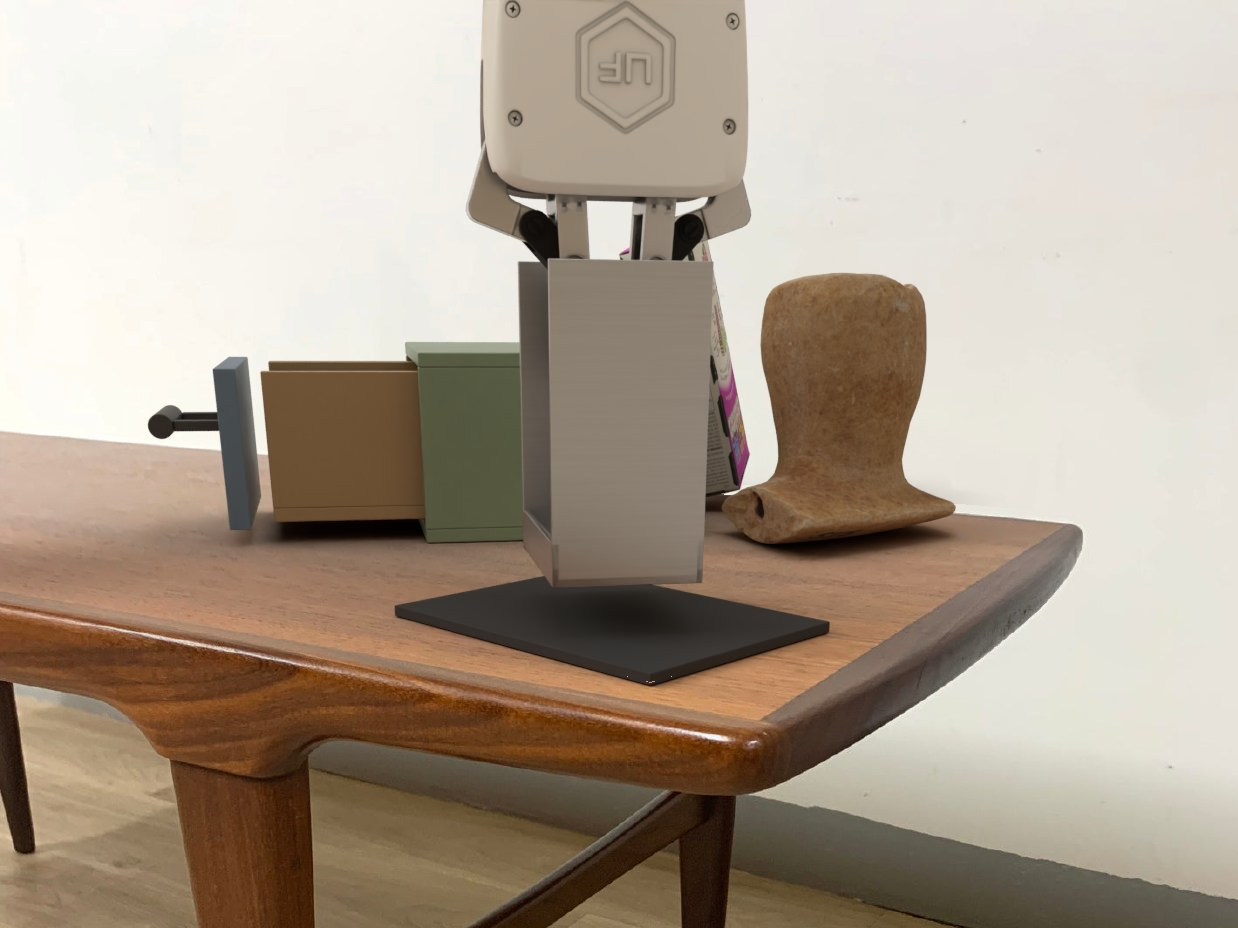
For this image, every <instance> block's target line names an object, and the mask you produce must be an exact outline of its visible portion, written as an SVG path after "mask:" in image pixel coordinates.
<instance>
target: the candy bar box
mask: <svg viewBox="0 0 1238 928" xmlns="http://www.w3.org/2000/svg"><path fill="white" fill-rule="evenodd" d="M629 248H630V246H628V248H626V249H624V250H623V251H621V252H619V253H618V256H619V260H629ZM710 250H711V249H710V246H709V240H706V241H704V242H701V243H698V244H697V245H696V246H695V248H694V249H693V250H692V251H691V252H690V253H689V254H688V255H687V256H686V257H685V258H684V259H683V261H713V260H712V255H711V251H710ZM720 301H721V300H720V297H719V293H718V287H717V281H716V276H715V270H714V269H713V293H712V322H711V351H710V380H709V409H708V438H707V467H706V496H705V499H707V498H710V497H716V496H720V495H724V494H729V493H732V492H733V493H734V492H738V491H740V490H741V488H742V484H743V480H744V476H745V472H746V468H747V466H748V462H749V458H750V455H751V453H750V449H749V446H748V441H747V434H746V430H745V424H744V420H743V414H742V409H741V405H740V399H739V394H738V389H737V385H736V378H735V374H734V368H733V363H732V358H731V353H730V348H729V347H730V346H729V342H728V337H727V331H726V327H725V323H724V322H725V321H724V318H723V317H724V316H723V312H722V311H723V310H722V307H721V302H720Z"/></svg>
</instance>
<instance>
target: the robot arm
mask: <svg viewBox="0 0 1238 928" xmlns="http://www.w3.org/2000/svg"><path fill="white" fill-rule="evenodd" d="M745 1H746V0H483V1H482V13H481V42H480V76H479V77H480V78H479V84H480V85H479V87H480V88H479V89H480V90H479V131H480V133H479V134H480V153H479V157H478V160H477V163H476V167H475V171H474V175H473V178H472V182H471V185H470V189H469V192H468V196H467V200H466V203H465V213H466V216H467V217H468V219H469V220H470V221H471V222H473V223H475V224H477V225H480V226H483V227H485V228H487V229H490V230H492V231H494V232H497V233H500V234H502V235H505V236H507V237H511V238H513V239H515V240H519V241H520V242H521V243H523V245H524V246H525V247H526V248H527V249H528V250H529V252H531V254H532V255H533V256H534V257H535V258H536V259H537V260H538V262H541V263H542V264H543V265H544V267H545V268H546V269H547V270H548V259H550V258H551V259H591V254H590V253H591V252H590V237H589V218H588V202H613V203H615V202H616V203H617V202H618V203H632V205H631V218H630V219H631V220H630V233H629V234H630V235H629V247H630V248H629V247H628V248H629V260H669V261H683V259H684V258H685V257H686V256H687V255H688V254H689V253H690V252H691V251H692V250H693V249H694V248H695V246H696V245H697V244H698V243H701V242H704V241H706V240H708V241H709V240H713V239H715V238H718V237H720V236H721V237H722V236H724V235H726V234H729V233H731V232H734V231H737V230H740V229H743V228H744V227H746V226H747V225H748V224H749V223H750V222H751V219H752V218H751V217H752V209H751V206H750V201H749V198H748V193H747V189H746V187H745V185H746V184H745V182H744V176H745V171H746V167H747V158H748V146H749V144H748V143H749V73H748V72H749V68H748V40H747V39H748V38H747V19H746V2H745ZM511 196H512V197H514V198H521V199H528V200H530V199H531V200H545V207H546V208H545V210H546V213H545V212H543V211H541V210H539V209H535V208H533V207H530V206H528V205H525V204H522V202H519V201H516V200H515V199H513V198H511ZM702 198H707V199H706V202H705V203H704V204H703V205H702V206H700V207H698V208H696V209H692V210H689V211H688V212H687V211H686V212H685V213H682V214H679V215H676V209H677V203H687V202H693V201H697V200H699V199H702Z"/></svg>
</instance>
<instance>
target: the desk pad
mask: <svg viewBox="0 0 1238 928" xmlns="http://www.w3.org/2000/svg"><path fill="white" fill-rule="evenodd" d="M394 616H396V617H399V618H402V619H406V620H410V621H412V622H413V621H414V622H417V623H421V624H425V625H428V626H431V627H436V628H439V629H442V630H446V631H450V632H453V633H457V634H461V635H465V636H468V637H471V638H475V639H479V640H483V641H486V642H490V643H493V644H498V645H501V646H504V647H508V648H512V649H516V650H520V651H522V652H526V653H530V654H534V655H537V656H541V657H543V658H547V659H548V658H549V659H552V660H556V661H560V662H563V663H566V664H569V665H570V664H571V665H574V666H578V667H582V668H585V669H588V670H593V671H596V672H599V673H602V674H603V673H604V674H607V675H610V676H614V677H618V678H621V679H625V680H629V681H632V682H637V683H640V684H644V685H647V686H654V685H656V684H660V683H663V682H667V681H670V680H673V679H676V678H680V677H683V676H687V675H690V674H693V673H697V672H700V671H703V670H707V669H710V668H714V667H717V666H721V665H723V664H727V663H731V662H734V661H737V660H741V659H743V658H747V657H750V656H754V655H757V654H760V653H764V652H767V651H770V650H771V651H772V650H774V649H777V648H781V647H784V646H787V645H790V644H793V643H794V644H795V643H797V642H800V641H804V640H807V639H810V638H814V637H817V636H820V635H824V634H828V633H829V632H830V627H831V621H828V620H824V619H819V618H815V617H811V616H810V617H808V616H805V615H801V614H795V613H790V612H786V611H782V610H781V611H780V610H775V609H771V608H766V607H763V606H762V607H761V606H756V605H751V604H747V603H742V602H738V601H732V600H727V599H724V598H718V597H713V596H710V595H709V596H708V595H705V594H698V593H694V592H689V591H684V590H681V589H680V590H679V589H675V588H671V587H665V586H660V585H657V584H654V585H624V586H594V587H564V588H553V587H552V586H551V584H550V583H549V582H548V580H547V579H546V578H545V576H544V575H542V576H537V577H531V578H526V579H522V580H521V579H520V580H516V581H511V582H506V583H502V584H495V585H491V586H485V587H481V588H476V589H471V590H465V591H461V592H455V593H450V594H445V595H440V596H436V597H430V598H426V599H421V600H420V599H419V600H415V601H410V602H405V603H400V604H395V605H394ZM627 676H628V677H627ZM671 676H672V677H671ZM646 681H648V682H646ZM652 681H655V682H652ZM649 682H652V683H649Z"/></svg>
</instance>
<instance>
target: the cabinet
mask: <svg viewBox="0 0 1238 928" xmlns="http://www.w3.org/2000/svg"><path fill="white" fill-rule="evenodd" d="M404 352H405V361H413V362H414V363H415V364H416V365H417V366H418V387H419V407H420V427H421V448H422V468H423V488H424V508H425V519H418V521H419V525H420V527H421V530H422V533H423V535H424V538H425V540H426V543H427V544H428V543H429V544H436V543H439V544H440V543H470V542H471V543H474V542H478V543H479V542H510V541H523V502H522V452H521V402H520V352H519V341H518V342H516V341H514V342H513V341H510V342H509V341H506V342H505V341H504V342H503V341H498V342H497V341H405V342H404Z"/></svg>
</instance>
